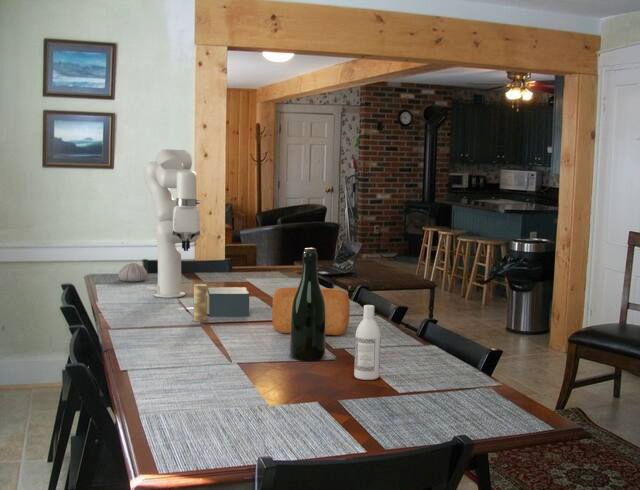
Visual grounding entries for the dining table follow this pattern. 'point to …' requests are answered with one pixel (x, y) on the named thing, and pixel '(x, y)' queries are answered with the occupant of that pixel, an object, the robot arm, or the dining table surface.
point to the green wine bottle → (308, 313)
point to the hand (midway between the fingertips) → (185, 250)
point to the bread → (334, 310)
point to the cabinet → (228, 301)
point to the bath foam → (367, 347)
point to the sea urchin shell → (133, 273)
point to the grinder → (200, 302)
